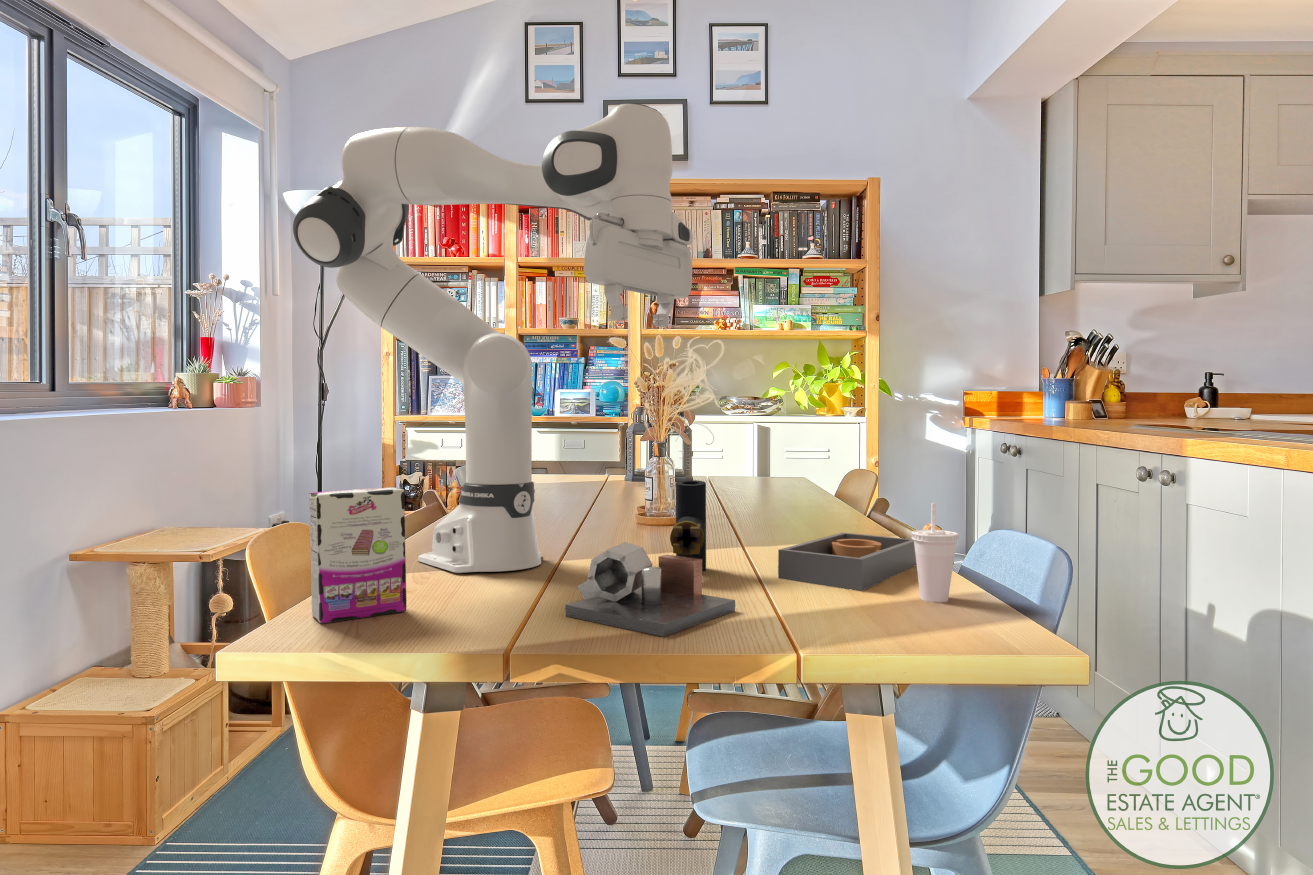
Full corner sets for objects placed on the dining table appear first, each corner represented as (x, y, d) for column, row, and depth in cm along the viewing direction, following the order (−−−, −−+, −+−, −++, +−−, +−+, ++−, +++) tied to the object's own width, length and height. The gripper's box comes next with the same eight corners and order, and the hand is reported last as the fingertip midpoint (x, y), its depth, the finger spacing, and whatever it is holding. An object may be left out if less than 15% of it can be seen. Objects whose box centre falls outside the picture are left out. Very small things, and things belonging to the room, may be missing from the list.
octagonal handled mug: (618, 542, 106) (636, 535, 113) (557, 580, 109) (578, 570, 116) (642, 585, 105) (659, 575, 112) (580, 622, 108) (600, 610, 115)
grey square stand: (565, 616, 105) (565, 566, 105) (641, 594, 117) (641, 550, 117) (663, 636, 95) (663, 582, 95) (735, 610, 108) (735, 562, 108)
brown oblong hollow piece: (887, 581, 140) (888, 541, 139) (870, 590, 133) (870, 549, 132) (793, 568, 150) (793, 531, 150) (772, 576, 143) (772, 538, 143)
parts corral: (778, 580, 127) (778, 549, 127) (842, 559, 147) (842, 532, 146) (861, 592, 119) (862, 559, 119) (918, 568, 138) (918, 539, 138)
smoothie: (902, 600, 114) (903, 502, 114) (923, 593, 119) (924, 499, 119) (945, 607, 110) (947, 505, 110) (965, 600, 114) (967, 502, 114)
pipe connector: (703, 588, 125) (703, 493, 123) (669, 587, 125) (668, 492, 123) (707, 567, 136) (707, 480, 134) (676, 566, 137) (676, 479, 135)
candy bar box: (395, 604, 111) (394, 486, 110) (407, 612, 107) (406, 489, 106) (309, 616, 104) (308, 490, 104) (318, 624, 100) (317, 493, 100)
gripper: (609, 205, 102) (609, 314, 103) (699, 234, 119) (699, 328, 119) (573, 213, 106) (573, 318, 106) (665, 240, 122) (665, 331, 123)
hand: (640, 323), depth 113 cm, fingers open, 8 cm apart
